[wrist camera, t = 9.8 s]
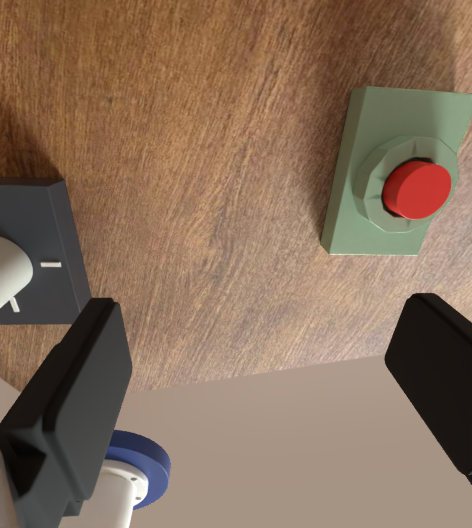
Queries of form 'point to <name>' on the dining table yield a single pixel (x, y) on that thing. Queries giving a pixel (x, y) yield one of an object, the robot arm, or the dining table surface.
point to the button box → (389, 165)
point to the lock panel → (43, 252)
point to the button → (417, 189)
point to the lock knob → (13, 270)
